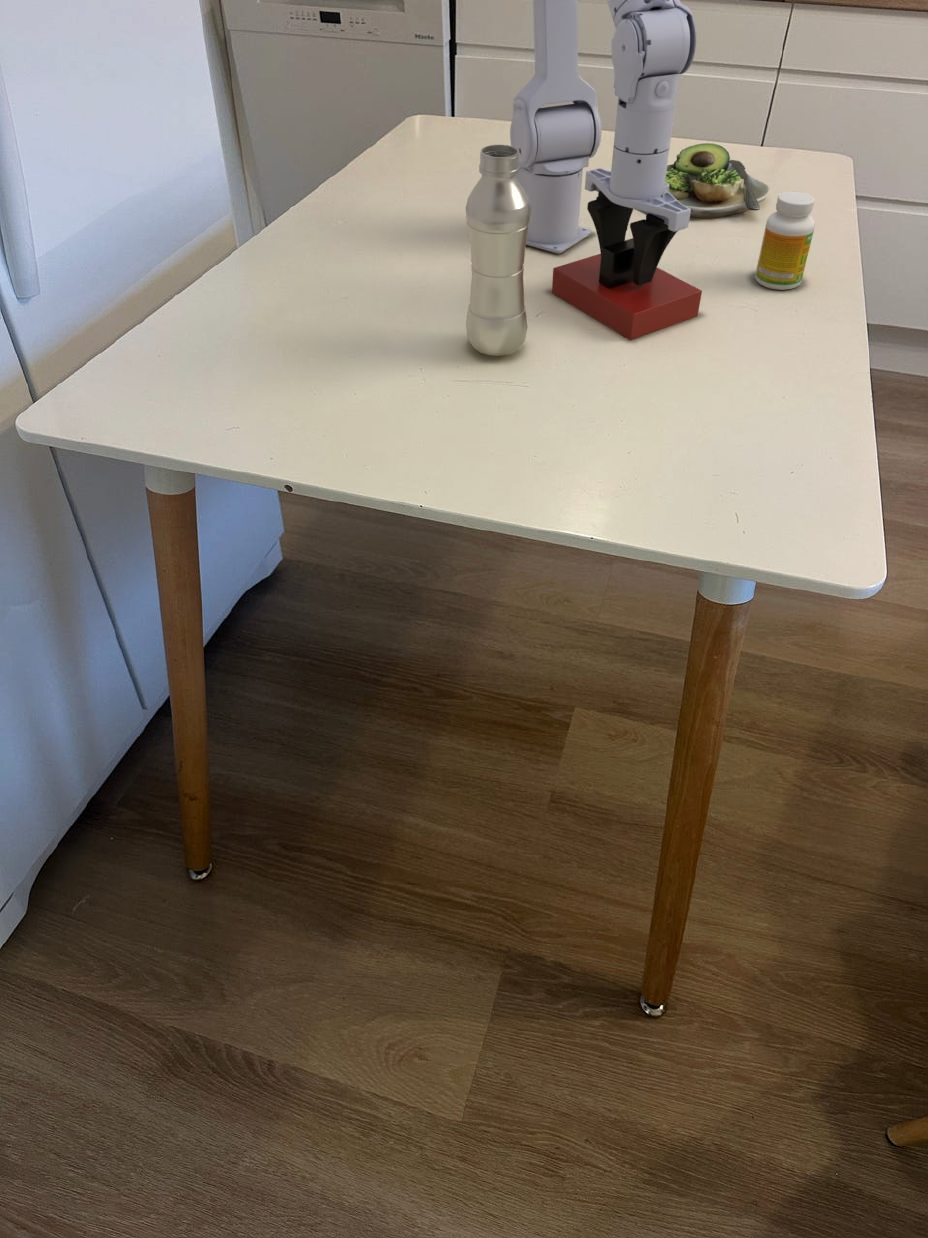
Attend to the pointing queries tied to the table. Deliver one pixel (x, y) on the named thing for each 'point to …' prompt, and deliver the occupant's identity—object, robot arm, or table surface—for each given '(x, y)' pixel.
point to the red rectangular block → (626, 298)
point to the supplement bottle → (786, 242)
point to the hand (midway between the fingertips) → (626, 273)
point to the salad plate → (713, 182)
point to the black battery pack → (617, 264)
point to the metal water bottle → (497, 253)
